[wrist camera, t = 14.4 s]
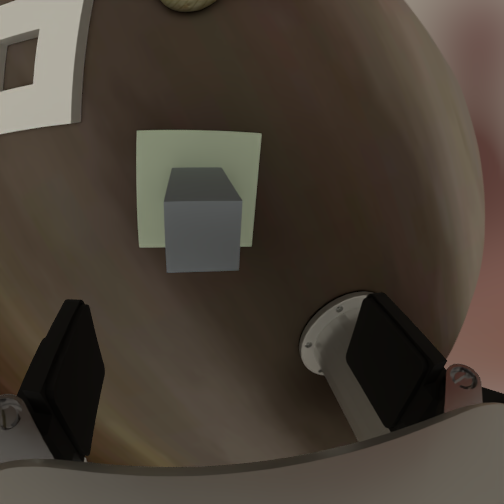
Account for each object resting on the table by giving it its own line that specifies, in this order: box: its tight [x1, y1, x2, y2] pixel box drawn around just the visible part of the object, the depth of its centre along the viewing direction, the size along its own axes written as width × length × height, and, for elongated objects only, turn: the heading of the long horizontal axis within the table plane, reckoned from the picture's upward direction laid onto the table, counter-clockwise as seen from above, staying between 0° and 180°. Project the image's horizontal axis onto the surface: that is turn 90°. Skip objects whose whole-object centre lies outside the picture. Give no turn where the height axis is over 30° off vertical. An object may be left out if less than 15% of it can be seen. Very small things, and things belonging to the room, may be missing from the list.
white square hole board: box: [0, 0, 94, 134], centre depth 16 cm, size 12×12×2 cm
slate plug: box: [164, 167, 243, 273], centre depth 21 cm, size 4×4×10 cm
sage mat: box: [136, 130, 262, 247], centre depth 26 cm, size 10×10×1 cm
